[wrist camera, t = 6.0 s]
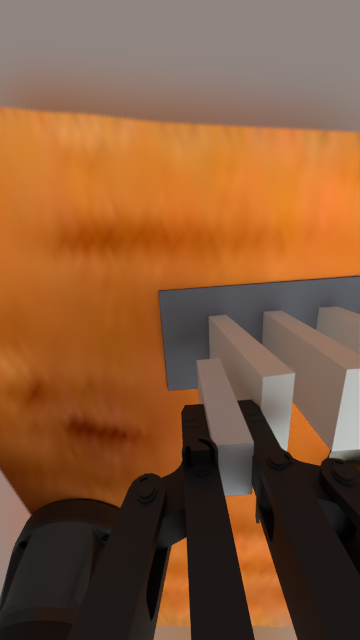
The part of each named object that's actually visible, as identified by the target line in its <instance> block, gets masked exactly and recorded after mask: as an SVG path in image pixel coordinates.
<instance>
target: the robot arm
mask: <svg viewBox="0 0 360 640" xmlns="http://www.w3.org/2000/svg"><path fill="white" fill-rule="evenodd" d="M197 376H198V393H199V401H200V404H196V405H185V406H184V408H183V410H182V412H181V414H182V436H183V448H182V459H183V460H182V463H181V465H180V466H179V468H178V469H177V470H176V471H175V472H173V473H171V474H169V475H167V476H165V477H162V478H160V477H159V476H158V475H155V474H153V473H151V474H144V475H142V476H139V477H138V478H137V479H136V480H134V481H133V483H132V484H131V486H130V487H129V489H128V492H127V494H126V497H125V499H124V501H123V504H122V506H121V509H120V510H118V509H116V508H114V507H112V506H109V505H107V504H104V503H100V502H95V501H88V500H68V501H61V502H57V503H53V504H50V505H48V506H45V507H43V508H41V509H40V510H38V511H37V512H35V513H34V514H33V515H32V516H31V517H30V518H29V519H28V521H27V522H26V524H25V526H24V528H23V530H22V532H21V534H20V536H19V537H18V539H17V541H16V543H15V546H14V548H13V551H12V555H11V559H10V562H9V566H8V570H7V574H6V578H5V582H4V585H3V589H2V593H1V596H0V640H153V638H154V633H155V628H156V623H157V618H158V612H159V607H160V602H161V597H162V592H163V587H164V581H165V576H166V571H167V566H168V561H169V556H170V551H171V545H173V544H175V543H177V542H178V541H180V540H182V539H184V538H186V537H187V556H188V578H189V599H190V621H191V640H255V639H254V634H253V629H252V625H251V620H250V615H249V610H248V605H247V600H246V596H245V591H244V586H243V581H242V576H241V572H240V567H239V562H238V557H237V552H236V548H235V543H234V538H233V533H232V528H231V523H230V519H229V514H228V509H227V504H226V499H225V496H234V495H246V494H252V486H253V489H254V492H255V495H256V523H259V518H260V521H261V524H262V528H263V531H264V534H265V537H266V540H267V543H268V547H269V550H270V553H271V556H272V559H273V563H274V566H275V569H276V572H277V575H278V578H279V582H280V585H281V588H282V591H283V594H284V598H285V601H286V604H287V607H288V610H289V613H290V617H291V620H292V623H293V626H294V629H295V633H296V636H297V639H298V640H360V470H359V469H357V468H356V467H355V466H353V465H352V464H350V463H348V462H346V461H344V460H342V459H338V458H326V459H325V460H323V461H322V463H321V466H318V465H313V464H309V463H304V462H301V461H298V460H296V459H294V458H293V457H292V456H291V455H290V453H288V452H287V451H285V450H284V449H282V448H281V446H280V444H279V443H278V441H277V439H276V437H275V435H274V433H273V431H272V429H271V428H270V426H269V424H268V422H267V421H266V418H265V416H264V415H263V413H262V411H261V409H260V407H259V405H257V404H256V403H255V402H254V401H253V400H251V399H249V400H236V398H235V395H234V393H233V390H232V388H231V385H230V383H229V381H228V378H227V376H226V373H225V371H224V368H223V366H222V364H221V361H220V359H206V360H197Z"/></svg>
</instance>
